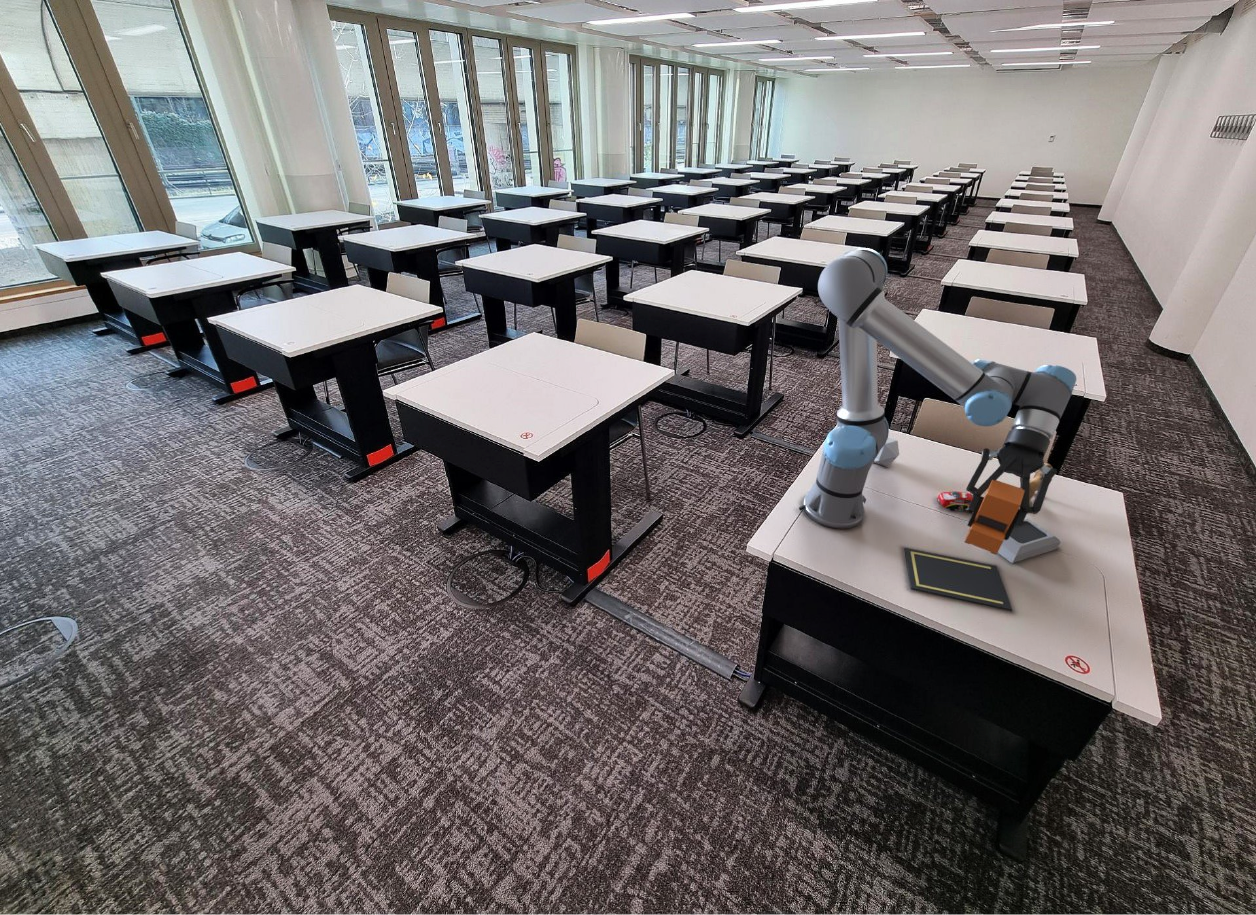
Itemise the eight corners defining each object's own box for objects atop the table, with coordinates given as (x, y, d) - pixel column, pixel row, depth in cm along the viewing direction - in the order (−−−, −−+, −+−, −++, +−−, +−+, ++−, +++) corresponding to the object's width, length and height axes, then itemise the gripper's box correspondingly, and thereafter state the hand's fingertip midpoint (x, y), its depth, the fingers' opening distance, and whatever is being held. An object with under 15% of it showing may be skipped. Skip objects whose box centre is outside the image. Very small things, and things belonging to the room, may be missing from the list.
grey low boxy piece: (983, 526, 132) (1027, 514, 136) (977, 537, 134) (1021, 525, 138) (1018, 551, 125) (1063, 537, 129) (1012, 563, 127) (1056, 548, 131)
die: (899, 462, 164) (890, 431, 165) (906, 464, 156) (897, 431, 156) (870, 469, 167) (862, 438, 167) (875, 471, 158) (866, 438, 158)
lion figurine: (1025, 483, 154) (1038, 457, 149) (1046, 491, 151) (1060, 465, 146) (1007, 504, 146) (1021, 477, 141) (1029, 513, 143) (1044, 486, 138)
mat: (910, 589, 120) (911, 587, 119) (904, 548, 131) (904, 547, 131) (1011, 611, 114) (1012, 609, 114) (995, 566, 126) (996, 565, 125)
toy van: (994, 557, 111) (1018, 512, 104) (962, 545, 114) (983, 501, 107) (1002, 533, 117) (1025, 489, 111) (972, 522, 120) (992, 478, 114)
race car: (986, 504, 146) (992, 493, 144) (993, 517, 141) (998, 505, 139) (934, 497, 148) (939, 486, 146) (939, 509, 144) (944, 497, 142)
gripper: (1079, 455, 112) (1036, 554, 110) (978, 426, 122) (937, 517, 120) (1090, 444, 106) (1044, 548, 104) (982, 414, 116) (939, 510, 114)
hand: (987, 531), depth 112 cm, fingers closed on toy van, 6 cm apart
